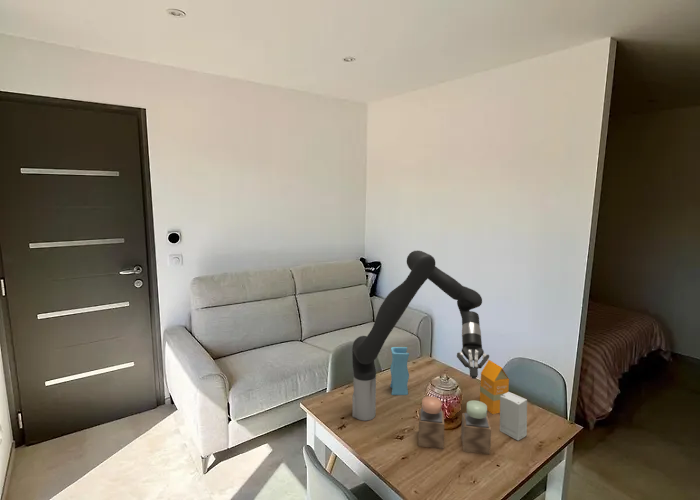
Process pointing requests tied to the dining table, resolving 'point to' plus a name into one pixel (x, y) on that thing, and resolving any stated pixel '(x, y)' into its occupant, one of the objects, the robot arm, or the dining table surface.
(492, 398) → the orange juice
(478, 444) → the pillar
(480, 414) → the sage button
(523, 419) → the skincare box
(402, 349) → the vase
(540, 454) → the dining table surface
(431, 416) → the pillar
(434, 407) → the terracotta button
